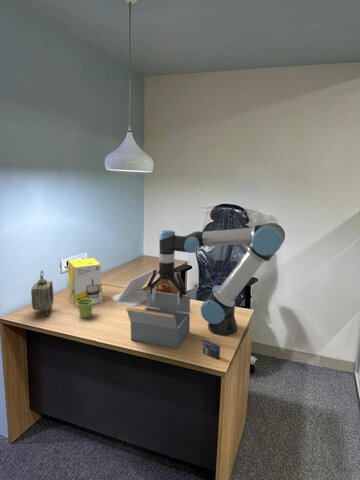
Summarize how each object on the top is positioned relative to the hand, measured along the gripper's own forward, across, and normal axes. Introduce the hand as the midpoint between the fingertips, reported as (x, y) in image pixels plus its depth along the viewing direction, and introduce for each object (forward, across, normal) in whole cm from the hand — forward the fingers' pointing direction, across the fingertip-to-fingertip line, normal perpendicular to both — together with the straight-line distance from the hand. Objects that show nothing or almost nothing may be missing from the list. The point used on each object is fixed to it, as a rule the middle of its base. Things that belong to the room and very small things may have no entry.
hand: (166, 301), depth 169 cm
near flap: (+1, 0, +18) cm, 18 cm away
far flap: (+1, 0, -2) cm, 2 cm away
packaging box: (+16, +63, -21) cm, 68 cm away
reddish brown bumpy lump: (+15, +13, -24) cm, 31 cm away
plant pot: (+16, +49, -1) cm, 51 cm away
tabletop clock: (+16, +74, +4) cm, 76 cm away
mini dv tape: (+16, -28, +16) cm, 36 cm away
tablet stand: (+16, +36, -36) cm, 53 cm away
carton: (+16, 0, +7) cm, 17 cm away
